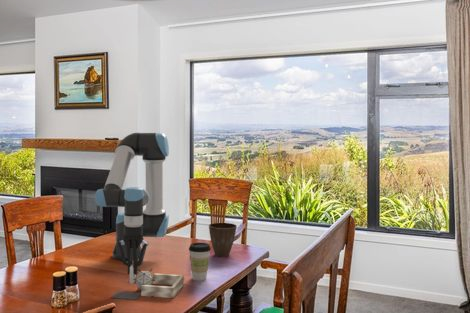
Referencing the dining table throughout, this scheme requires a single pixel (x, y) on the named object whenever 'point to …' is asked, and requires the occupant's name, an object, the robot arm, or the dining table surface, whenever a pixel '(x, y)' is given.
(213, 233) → the plant pot
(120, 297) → the mats
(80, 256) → the dining table surface
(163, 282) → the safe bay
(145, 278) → the game die
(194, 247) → the coffee cup
